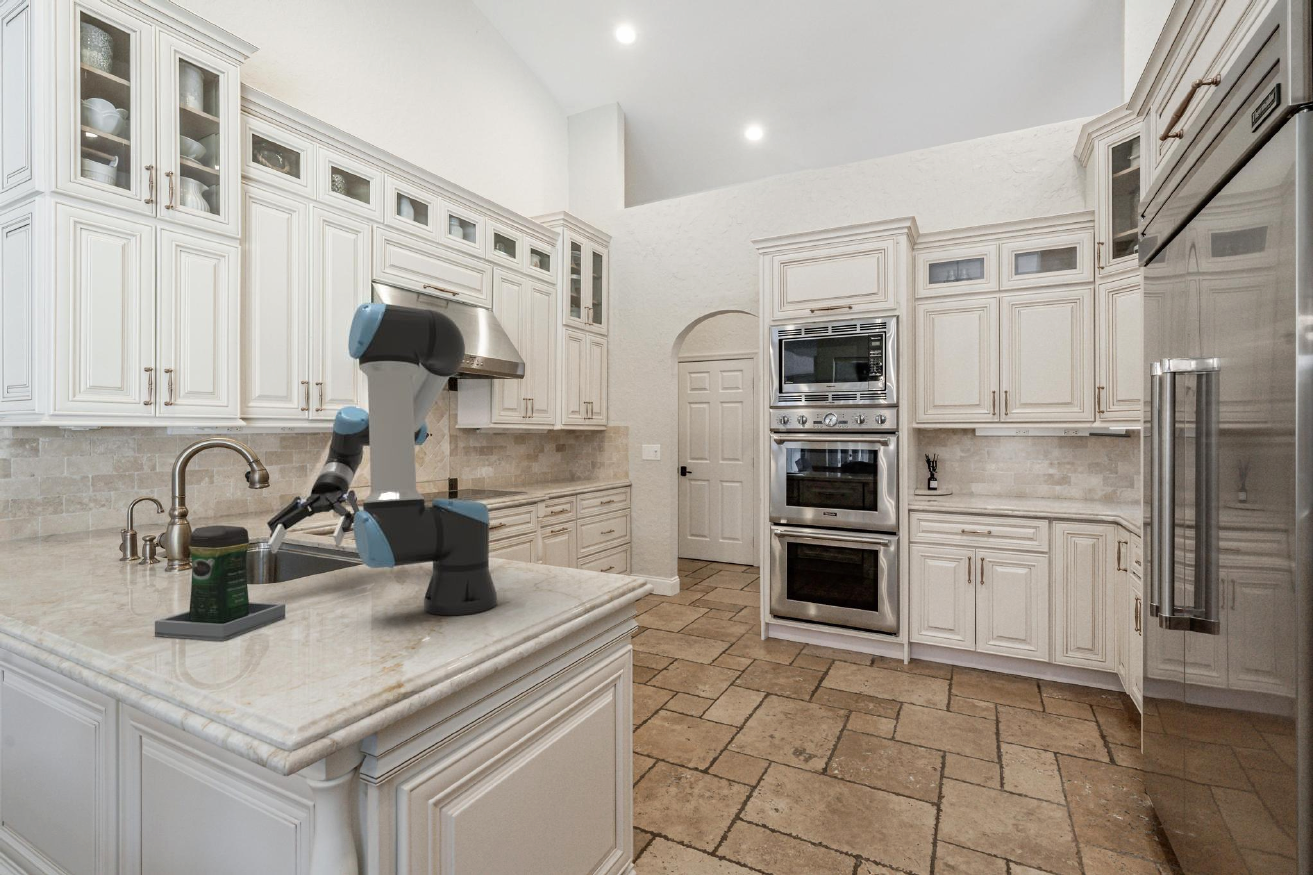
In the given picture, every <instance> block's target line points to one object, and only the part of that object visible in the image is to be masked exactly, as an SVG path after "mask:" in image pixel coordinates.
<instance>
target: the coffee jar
mask: <svg viewBox="0 0 1313 875" xmlns="http://www.w3.org/2000/svg"><path fill="white" fill-rule="evenodd" d="M189 539H190V540H189V544H188V545H189V546H188V549H189V552H190V557H191V582H190V583H191V584H190V601H189V611H190V612H189V620H190V622H199V623H214V624H224V623H228V622H231V621H234V620H237V619H240V618H242V617H245V616H248V615H249V602H250V601H249V600H250V599H249V589H248V576H247V575H248V574H247V573H248V571H247V559H248V558H247V556H248V551H249V547H250V537H249V532H248V529H247V528H245V527H244V526H233V525H208V526H202V527H201V526H200V527H196V528H194V530H193V531H192V532H191V534H190V538H189Z"/></svg>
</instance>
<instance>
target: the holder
mask: <svg viewBox="0 0 1313 875" xmlns="http://www.w3.org/2000/svg"><path fill="white" fill-rule="evenodd" d="M189 612H190V610H188V611H184V612H182V613H181V612H180V613H178V614H174V615H171V616H168V617H164V618H161V619H158V620H155V621H154V637H156V636H164V637H163V638H170V637H171V638H172V639H173V638H174V639H184V638H186V639H187V640H201V641H216V642H225V641H228V640H230V639H233V638H235V637H238V636H241V635H244V634H246V633H249V632H252V631H255V630H258V629H260V628H262V627H266V626H267V625H270V624H274V623H276V622H279V621H281V620H283V619H286V604H285V603H275V602H274V603H272V602H271V603H270V602H251V601H249V615H248V616H245V617H242V618H240V619H237V620H234V621H231V622H228V623H224V624H214V623H199V622H190V620H189ZM165 636H166V637H165Z"/></svg>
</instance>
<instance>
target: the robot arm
mask: <svg viewBox="0 0 1313 875" xmlns="http://www.w3.org/2000/svg"><path fill="white" fill-rule="evenodd" d="M463 336H464V335H463V334H462V332H461V330H460V328H459V327H458V325H457V324H456V323H455V321H453V319H451V318H450V317H448V316H447V315H446V314H444V313H442V312H440V311H437V310H434V309H423V308H417V307H411V306H409V307H408V306H404V305H397V304H389V303H385V302H382V303H377V302H376V303H375V302H364V303H362V304H360V305H359V306H358V308H357V309H356V311H355V313H354V316H353V318H352V321H351V325H350V329H349V336H348V344H347V345H348V354H349V356H350V357H351V358H353V359H354V360H358V369H359V370H360V371H361V372H362V373H363V374H364V375H365V376H366V377H367V401H368V402H367V403H368V412H367V410H365V409H363V408H362V407H356V406H354V405H351V406H349V405H348V406H345V407H341V408H340V409H339V410H338V411H337V413H336V416H335V418H334V422H333V424H332V434H331V439H330V445H329V449H328V454H327V459H326V461H325V462H324V465H323V466H322V468H321V470H320V472H319V474H318V476H317V478H316V480H315V481H314V483H313V485H312V488H311V492H310V495H309V496H307V498H301V497H300V496H296V497H294V498H293V499H292V501H291V503H289V504H288V505H287V506H286V507H284V508H283V509H282V510H280V512H278V513H277V514H276V515H274V516H273V517H272V518H271V519H269V520H268V521H267V523H266V525H267V526H268V528H269V530H270V534H269V541H268V543H267V546H268V548H269V550H270V552H271V554H277V552H278V550H279V548H280V546H281V544H282V543H283V541H284V539H285V537H286V535H287V530H289V529H290V528H292V527H293V526H295V525H296V524H298V523H299V522H301V521H303V520H304V519H306V518H307V517H309V518H310V517H313V515H315V514H320V513H328V512H330V511H334V512H335V514H338V515H339V516H340V519H339V520H338V522H337V526H336V528H335V530H334V532H333V535H332V538H333V539H334V542H335V544H336V545H337V546H340V545H342V543H343V539H344V537H345V535H346V533H348V532H350V531H351V527H352V528H353V537H354V542H355V546H356V550H357V553H358V555H359V558H360V559H361V561H362V563H363V564H364V565H365V566H367V567H368V568H371V569H383V568H390V569H391V568H394V567H399V566H408V565H409V566H410V565H416V564H422V563H423V564H425V563H431V562H432V573H431V577H430V580H429V582H428V586H427V589H426V590H425V591H426V592H425V594H424V595H425V596H424V598H423V610H424V611H425V612H426V613H428V614H432V615H438V616H461V615H472V614H477V613H481V612H485V611H488V610H491V609H493V608H495V607H496V605H498V604H497V603H498V602H497V601H498V599H497V598H498V594H497V590H496V587H495V584H494V582H493V578H492V574H491V571H490V569H489V567H490V566H489V562H490V560H489V557H490V556H489V555H490V518H489V517H490V515H489V514H490V513H489V508H488V506H487V505H486V504H485V503H483V502H480V501H474V500H473V501H472V500H464V499H453V498H452V499H451V498H434V499H433V501H432V502H431V503H432V504H431V506H429V505H428V506H425V505H426V504H425V497H424V496H423V495H422V494H421V493H420V492H418V490H417V474H416V473H417V472H416V470H417V469H416V447H415V446H421V445H423V444H425V442H426V440H427V439H426V438H427V435H428V429H427V428H428V427H427V422H426V419H427V418H428V415H429V414H430V412H431V410H432V408H433V407H434V405H435V404H436V402H437V400H438V398H439V396H440V394H441V392H442V391H443V389H444V388H445V385H446V384H447V382H448V380H449V378H450V377H453V376H455V375H456V374H457V373H458V372H459V370H460V368H461V366H462V365H463V363H464V360H465V354H466V345H465V344H466V343H465V339H464V337H463ZM364 447H369V468H370V469H369V470H370V472H369V474H370V494H368V496H367V497H366V498H365V499H364V500H363V501H362V507H363V509H360V508H359V506H358V504H357V501H358V497H357V494H356V492H355V490H353V489H351V490H350V487H351V485H352V482H353V480H354V478H355V475H356V473H357V471H358V469H359V467H360V465H361V464H362V462H363V456H364V450H363V449H364ZM345 501H346V502H347V503H349V504H350V506H351V509H352V510H353V513H351V510H348V509H347V508H346V507H344V505H342V504H343V503H344V502H345Z"/></svg>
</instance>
